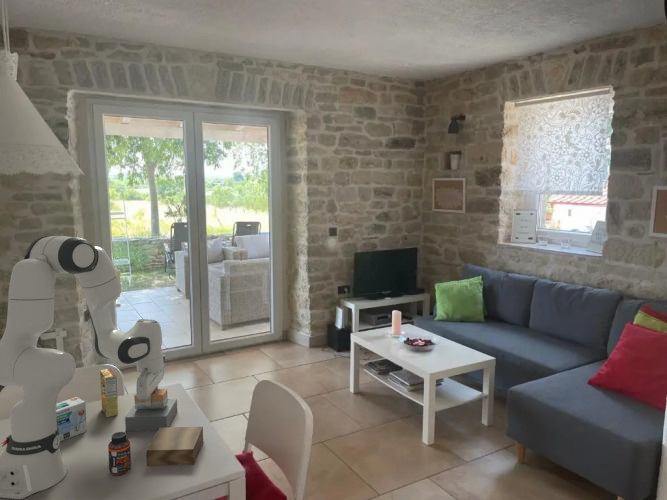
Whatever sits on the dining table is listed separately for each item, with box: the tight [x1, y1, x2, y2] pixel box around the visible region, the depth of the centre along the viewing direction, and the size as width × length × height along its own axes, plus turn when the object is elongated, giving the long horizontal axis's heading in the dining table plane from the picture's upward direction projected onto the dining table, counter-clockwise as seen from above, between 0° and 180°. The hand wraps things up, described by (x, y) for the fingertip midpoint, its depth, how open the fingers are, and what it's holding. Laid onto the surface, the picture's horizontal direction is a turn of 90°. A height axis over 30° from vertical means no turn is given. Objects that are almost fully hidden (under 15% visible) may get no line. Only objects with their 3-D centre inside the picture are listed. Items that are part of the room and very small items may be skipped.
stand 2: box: [145, 426, 204, 467], centre depth 154 cm, size 14×14×5 cm
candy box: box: [99, 368, 119, 418], centre depth 181 cm, size 9×4×15 cm, turn 37°
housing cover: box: [134, 388, 169, 403], centre depth 174 cm, size 10×5×4 cm, turn 93°
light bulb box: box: [56, 396, 88, 442], centre depth 165 cm, size 11×7×11 cm, turn 143°
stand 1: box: [124, 398, 178, 432], centre depth 175 cm, size 14×14×5 cm
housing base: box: [134, 395, 169, 409], centre depth 174 cm, size 10×5×2 cm, turn 93°
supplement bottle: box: [107, 431, 132, 476], centre depth 144 cm, size 6×6×11 cm
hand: (151, 401), depth 174 cm, fingers closed on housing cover, 5 cm apart
